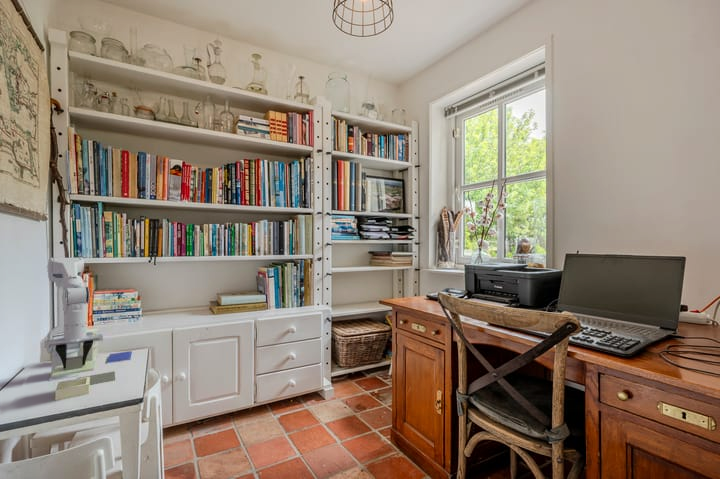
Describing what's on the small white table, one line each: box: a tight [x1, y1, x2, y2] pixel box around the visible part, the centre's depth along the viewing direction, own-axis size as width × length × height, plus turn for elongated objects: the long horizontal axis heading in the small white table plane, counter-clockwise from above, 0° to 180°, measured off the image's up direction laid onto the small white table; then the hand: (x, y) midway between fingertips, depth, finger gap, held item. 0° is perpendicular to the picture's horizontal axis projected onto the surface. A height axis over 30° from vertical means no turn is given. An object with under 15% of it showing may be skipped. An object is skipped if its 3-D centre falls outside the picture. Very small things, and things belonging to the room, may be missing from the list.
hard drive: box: [106, 350, 133, 364], centre depth 144 cm, size 2×8×12 cm
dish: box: [55, 376, 91, 401], centre depth 109 cm, size 8×8×4 cm
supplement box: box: [77, 328, 99, 362], centre depth 142 cm, size 7×7×13 cm
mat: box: [76, 371, 116, 386], centre depth 120 cm, size 11×11×1 cm
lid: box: [52, 355, 96, 377], centre depth 109 cm, size 10×10×4 cm
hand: (74, 366), depth 109 cm, fingers closed on lid, 4 cm apart
